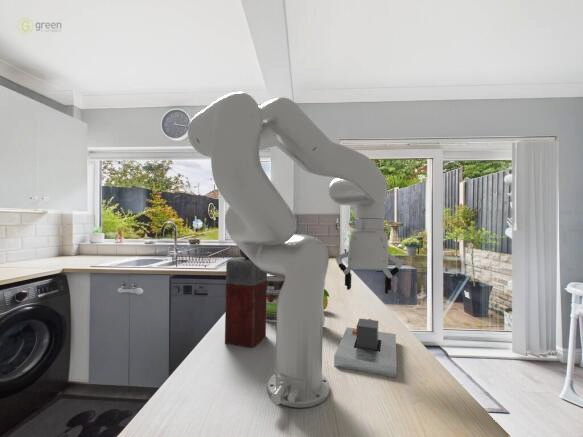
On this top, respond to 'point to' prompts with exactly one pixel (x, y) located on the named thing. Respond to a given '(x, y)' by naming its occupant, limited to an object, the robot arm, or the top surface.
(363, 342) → the plug
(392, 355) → the socket plate
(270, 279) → the coffee can
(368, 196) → the robot arm
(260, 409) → the top surface
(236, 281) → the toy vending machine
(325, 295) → the lemon
